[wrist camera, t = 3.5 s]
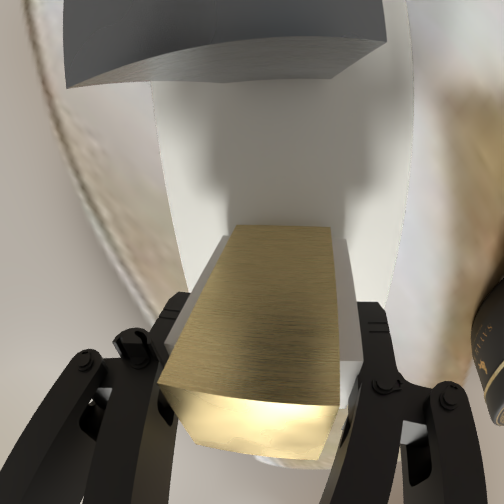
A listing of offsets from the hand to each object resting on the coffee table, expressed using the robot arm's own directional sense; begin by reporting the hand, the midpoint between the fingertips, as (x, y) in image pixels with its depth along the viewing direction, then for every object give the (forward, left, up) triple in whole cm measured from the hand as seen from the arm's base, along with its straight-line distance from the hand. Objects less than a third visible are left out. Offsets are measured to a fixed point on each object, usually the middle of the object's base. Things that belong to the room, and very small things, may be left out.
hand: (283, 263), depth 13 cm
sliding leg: (0, 0, 0) cm, 0 cm away
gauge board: (0, 0, -2) cm, 2 cm away
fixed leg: (-10, 0, -1) cm, 10 cm away
